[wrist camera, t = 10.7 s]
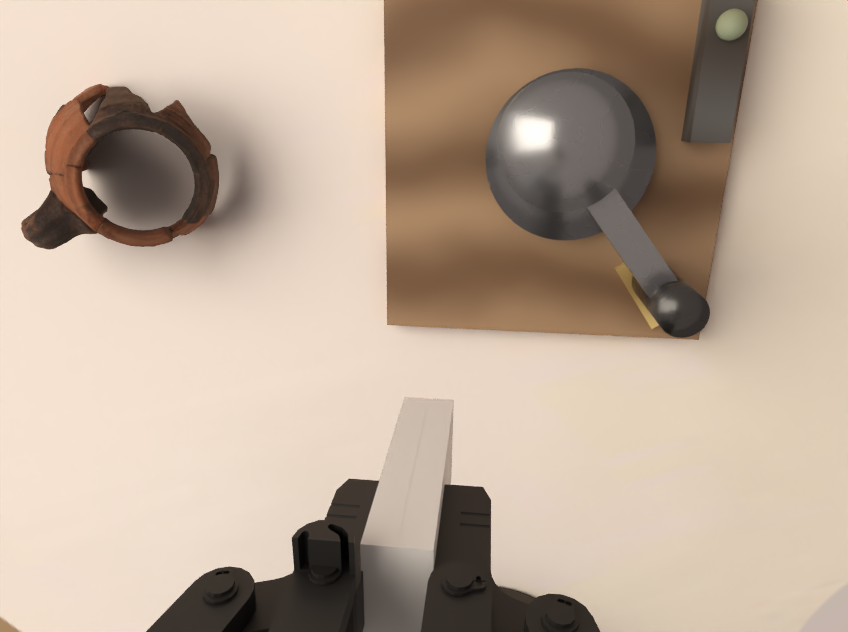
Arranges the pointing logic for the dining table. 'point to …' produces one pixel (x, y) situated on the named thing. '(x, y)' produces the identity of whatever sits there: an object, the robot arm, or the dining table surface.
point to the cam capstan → (587, 179)
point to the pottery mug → (65, 160)
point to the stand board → (468, 135)
